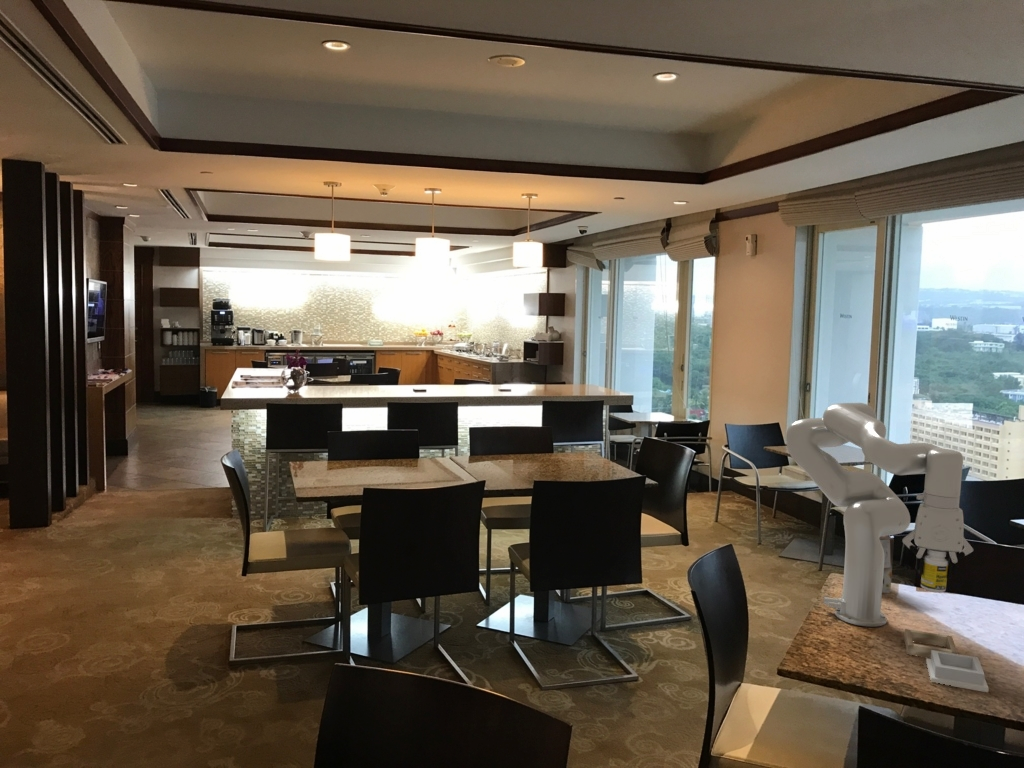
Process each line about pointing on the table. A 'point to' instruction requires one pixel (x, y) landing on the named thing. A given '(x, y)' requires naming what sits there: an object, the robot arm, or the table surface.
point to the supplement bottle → (935, 571)
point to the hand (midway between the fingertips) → (934, 574)
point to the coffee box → (887, 562)
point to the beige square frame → (929, 639)
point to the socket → (956, 670)
